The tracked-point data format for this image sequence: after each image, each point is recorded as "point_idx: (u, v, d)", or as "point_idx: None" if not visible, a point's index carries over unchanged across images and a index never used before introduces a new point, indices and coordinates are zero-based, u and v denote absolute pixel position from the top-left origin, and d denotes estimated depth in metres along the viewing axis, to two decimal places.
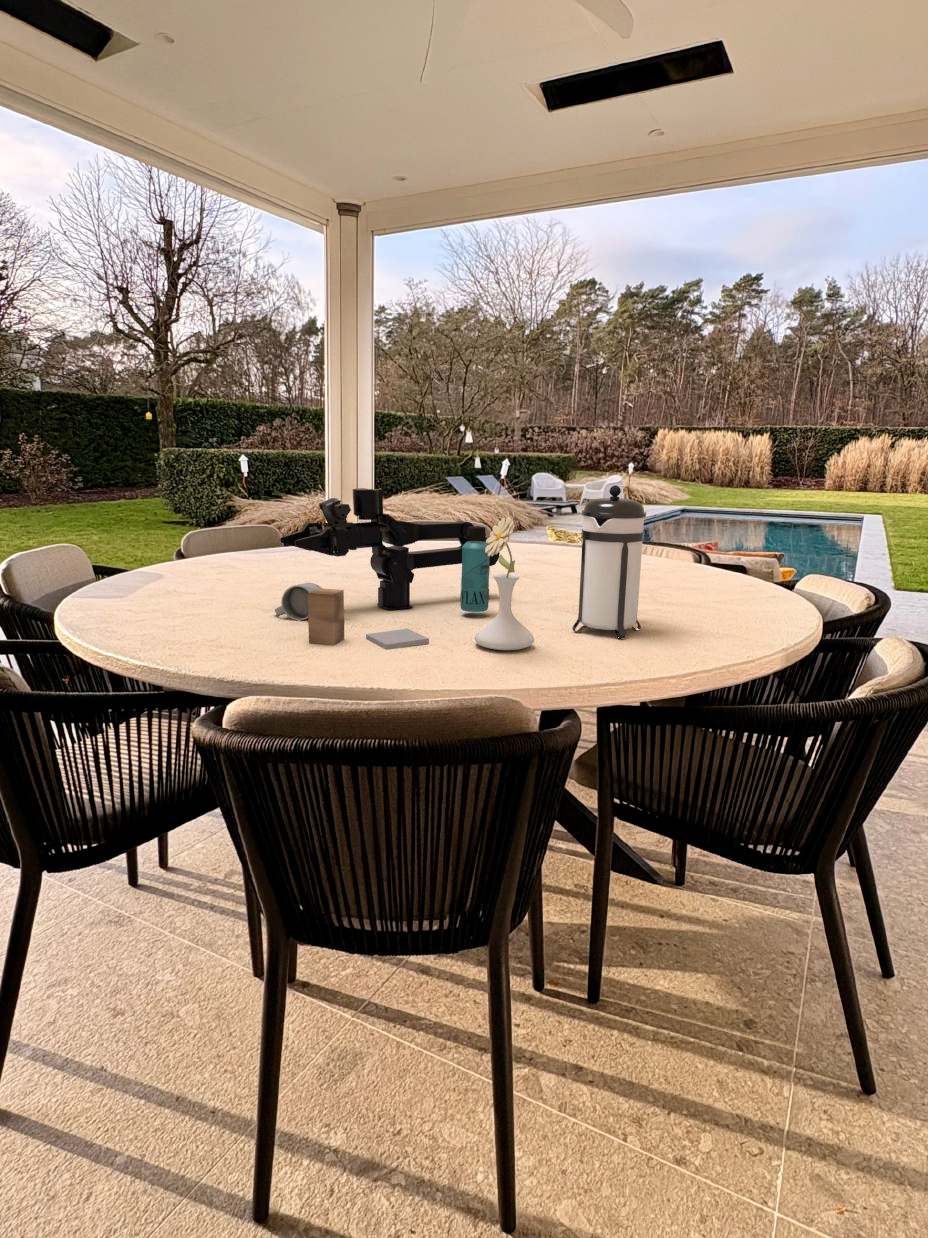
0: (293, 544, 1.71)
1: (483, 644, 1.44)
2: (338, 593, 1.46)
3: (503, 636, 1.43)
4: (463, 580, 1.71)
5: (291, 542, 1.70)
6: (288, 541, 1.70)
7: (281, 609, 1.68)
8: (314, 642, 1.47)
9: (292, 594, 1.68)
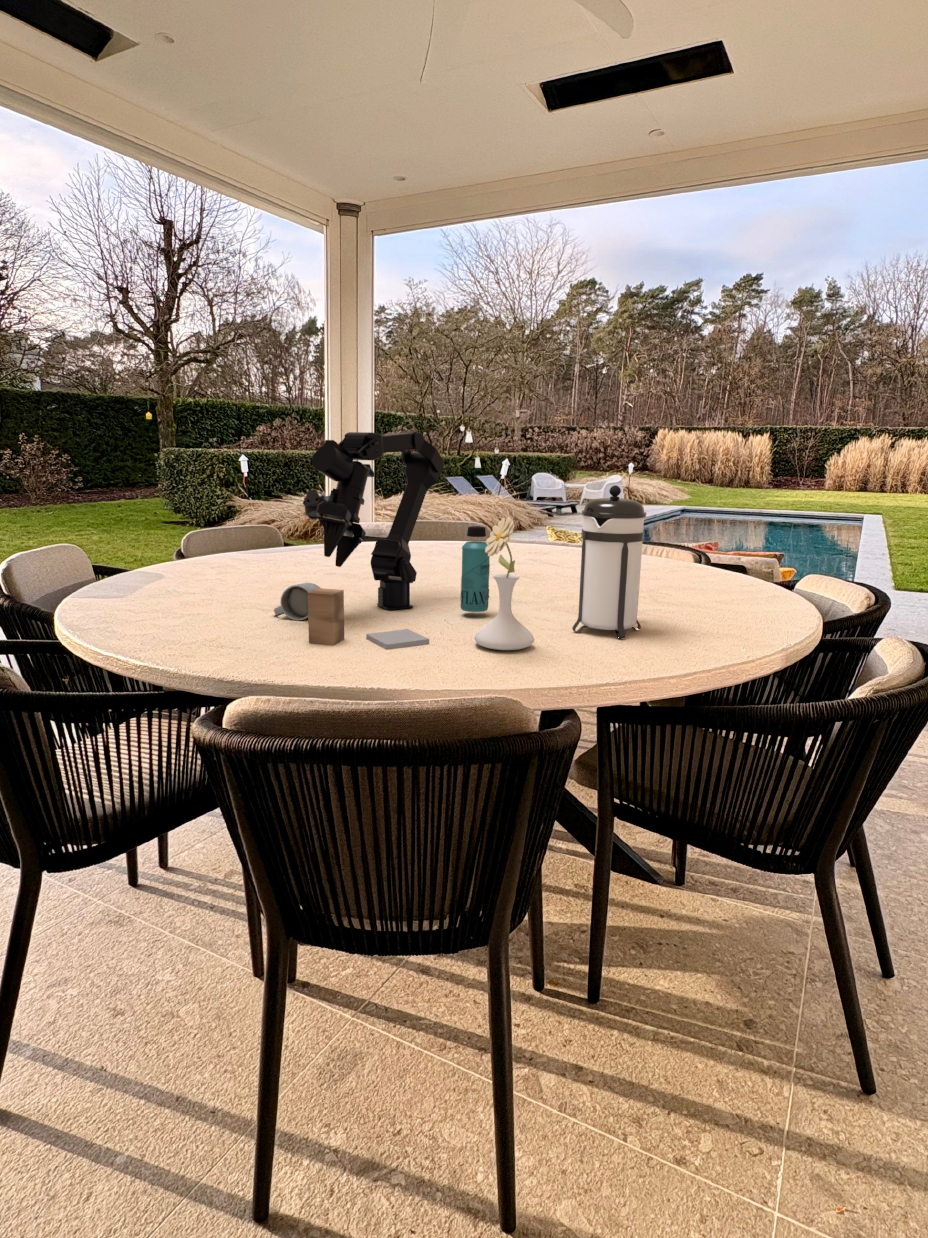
0: (346, 554, 1.65)
1: (483, 644, 1.44)
2: (338, 593, 1.46)
3: (503, 636, 1.43)
4: (463, 580, 1.71)
5: (343, 556, 1.65)
6: (341, 558, 1.65)
7: (280, 609, 1.68)
8: (314, 642, 1.47)
9: (291, 594, 1.68)
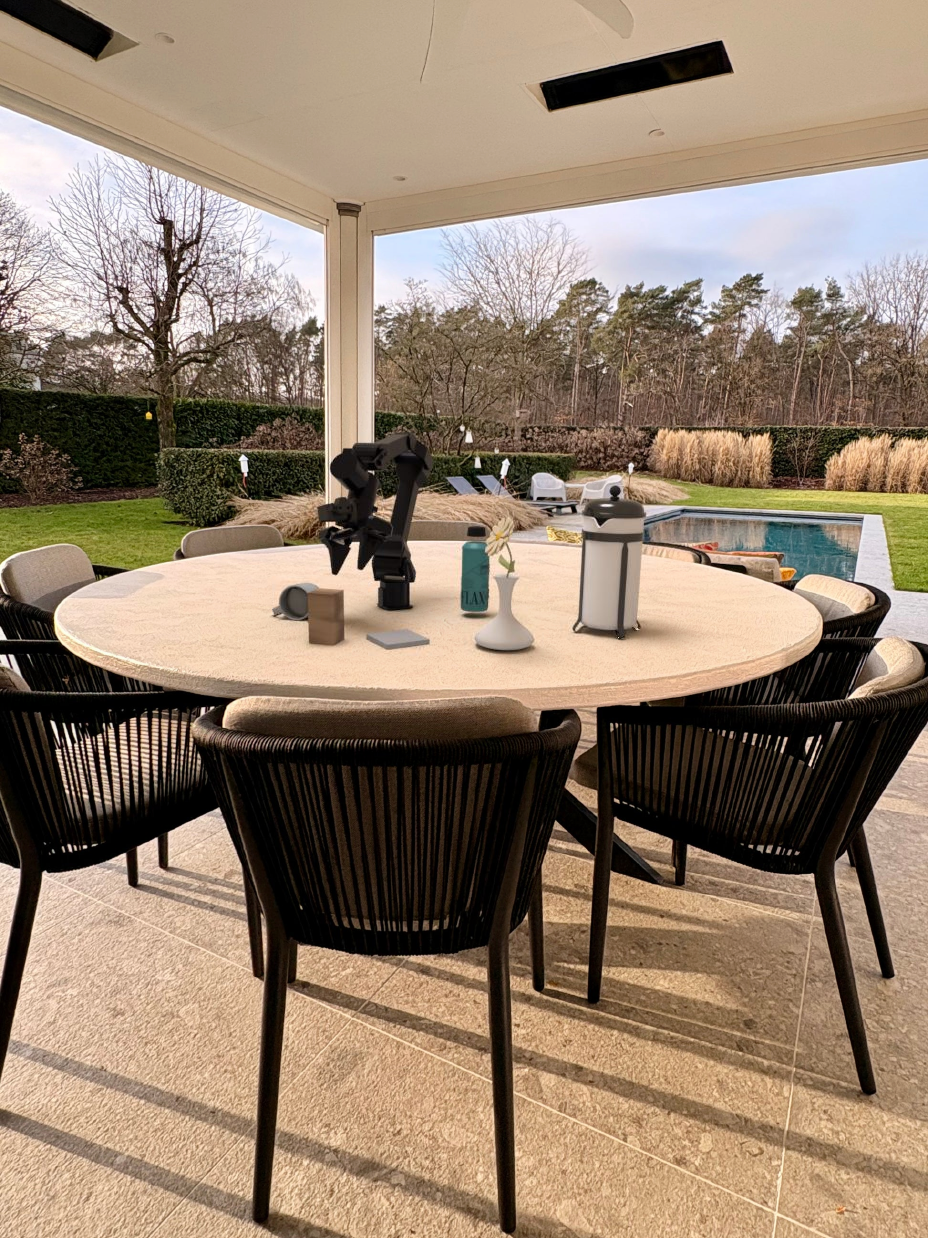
0: (341, 563, 1.61)
1: (483, 644, 1.44)
2: (338, 593, 1.46)
3: (503, 636, 1.43)
4: (463, 580, 1.71)
5: (339, 564, 1.61)
6: (337, 567, 1.60)
7: (278, 609, 1.68)
8: (314, 642, 1.47)
9: (289, 594, 1.68)
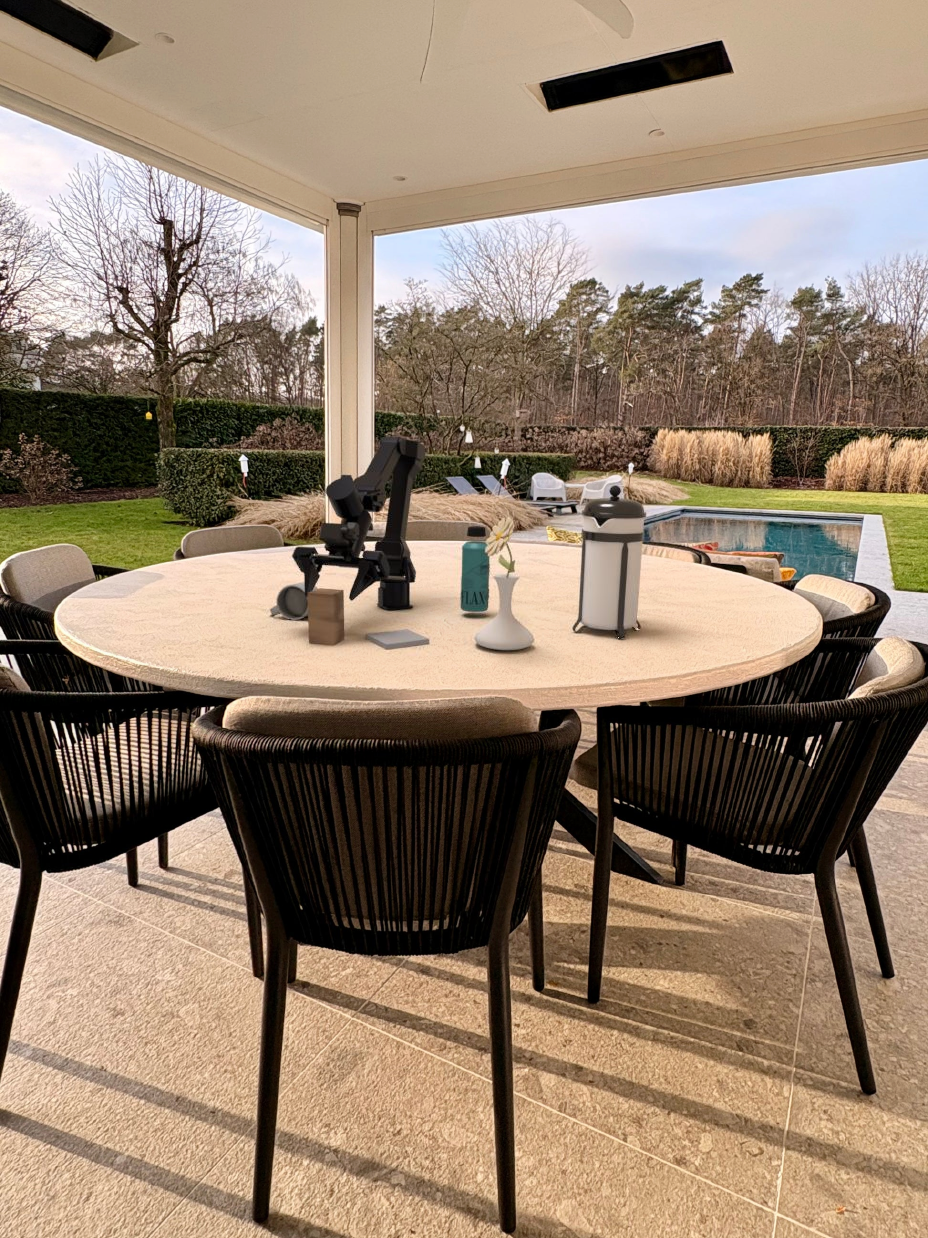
0: (313, 587, 1.51)
1: (483, 644, 1.44)
2: (338, 593, 1.46)
3: (503, 636, 1.43)
4: (463, 580, 1.71)
5: (311, 588, 1.51)
6: (310, 589, 1.50)
7: (276, 609, 1.68)
8: (314, 642, 1.47)
9: (287, 594, 1.68)
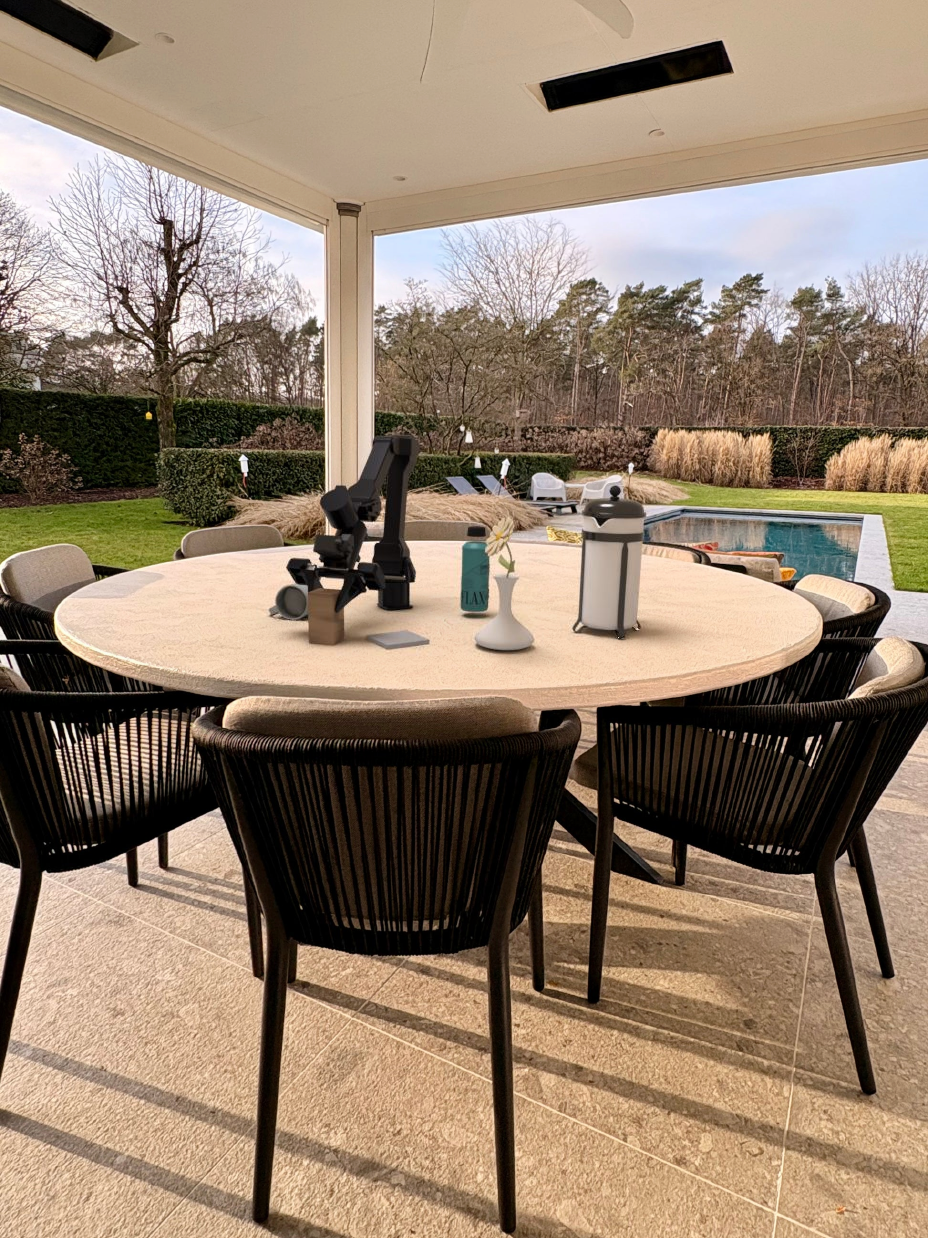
0: None
1: (483, 644, 1.44)
2: (338, 593, 1.46)
3: (503, 636, 1.43)
4: (463, 580, 1.71)
5: None
6: None
7: (275, 609, 1.68)
8: (314, 642, 1.47)
9: (286, 594, 1.68)
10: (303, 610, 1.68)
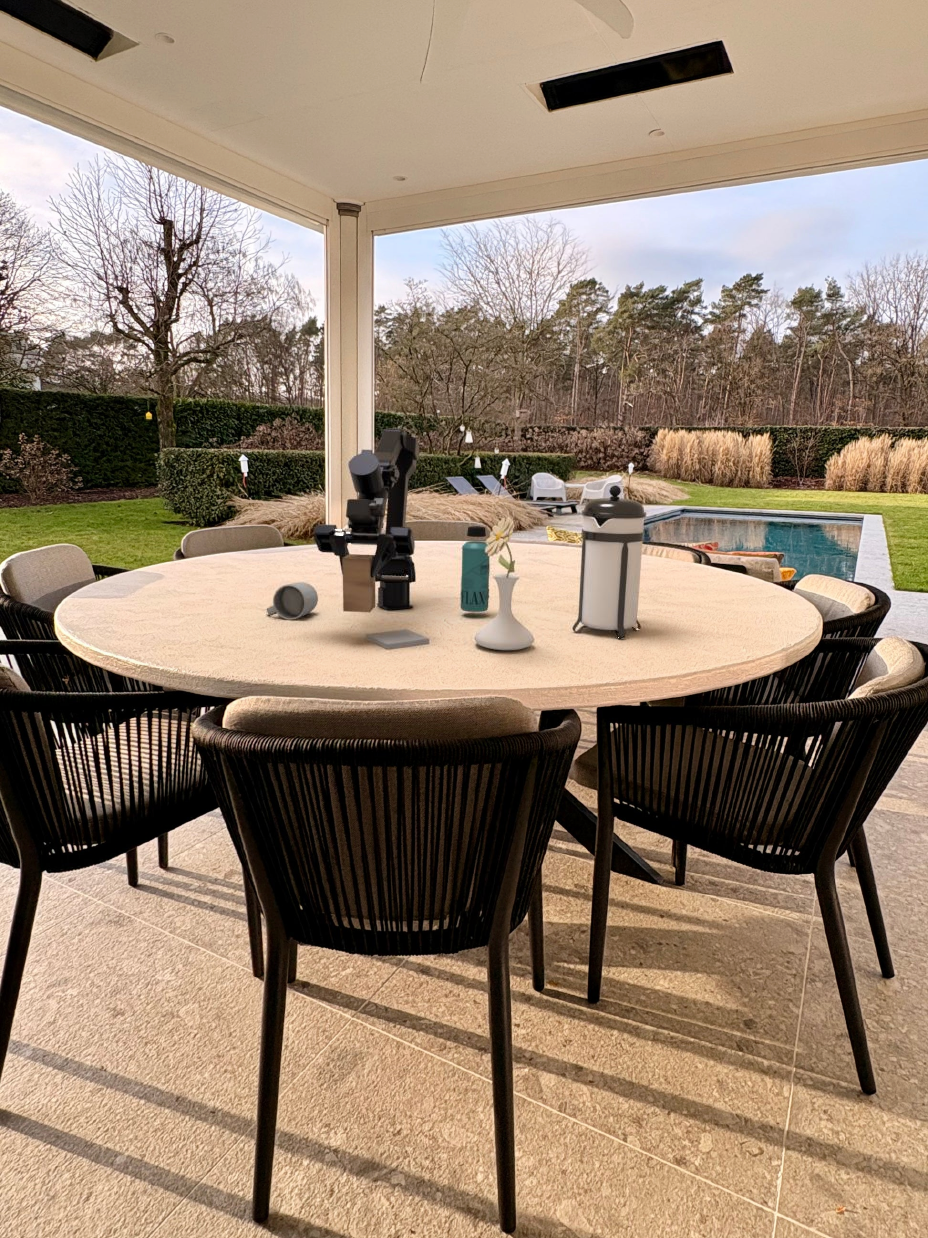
0: None
1: (483, 644, 1.44)
2: (372, 558, 1.45)
3: (503, 636, 1.43)
4: (463, 580, 1.71)
5: None
6: None
7: (273, 608, 1.69)
8: (349, 608, 1.45)
9: (284, 593, 1.68)
10: (301, 610, 1.68)
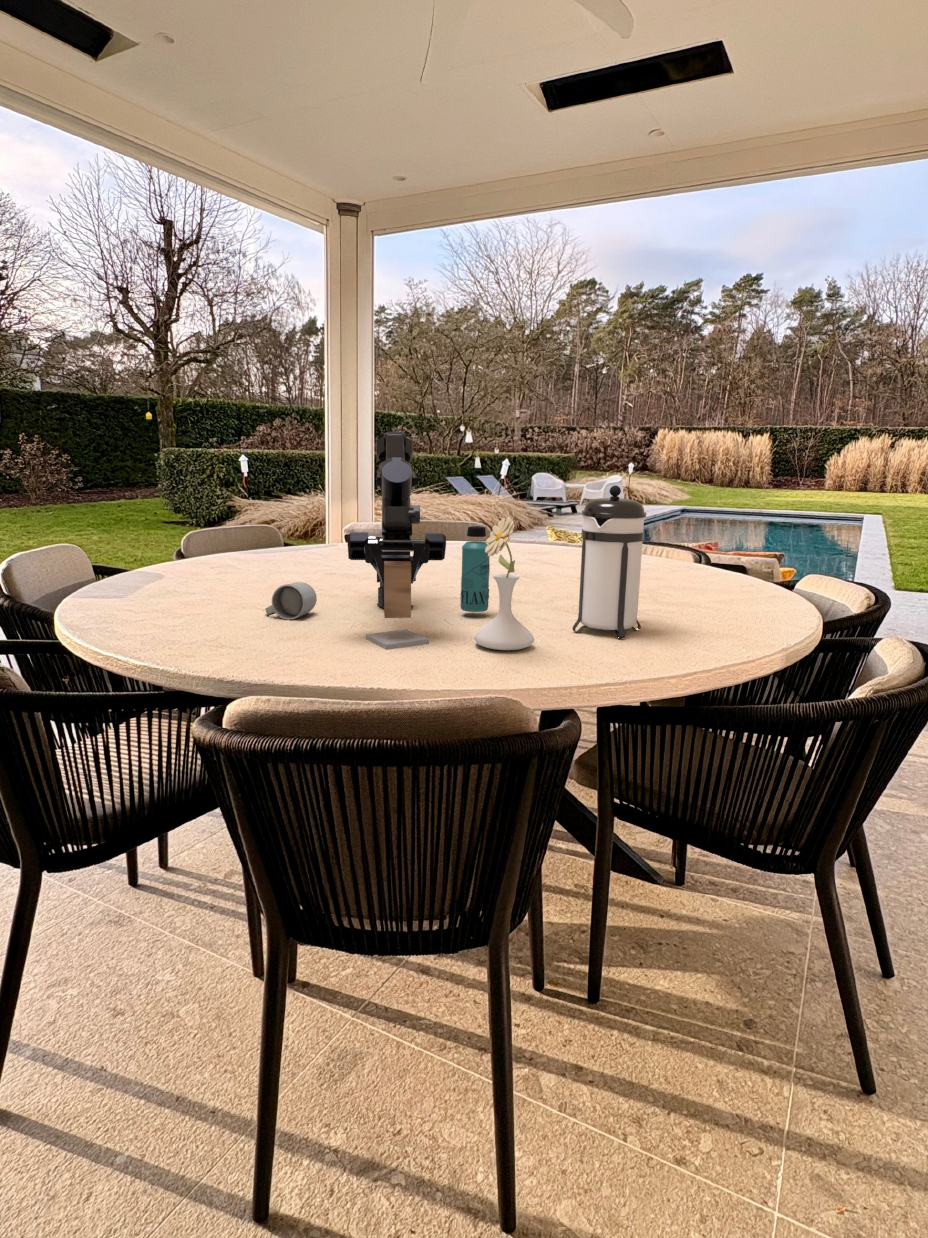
0: None
1: (483, 644, 1.44)
2: (410, 564, 1.47)
3: (503, 636, 1.43)
4: (463, 580, 1.71)
5: None
6: None
7: (271, 608, 1.69)
8: (390, 615, 1.46)
9: (282, 593, 1.68)
10: (299, 610, 1.68)
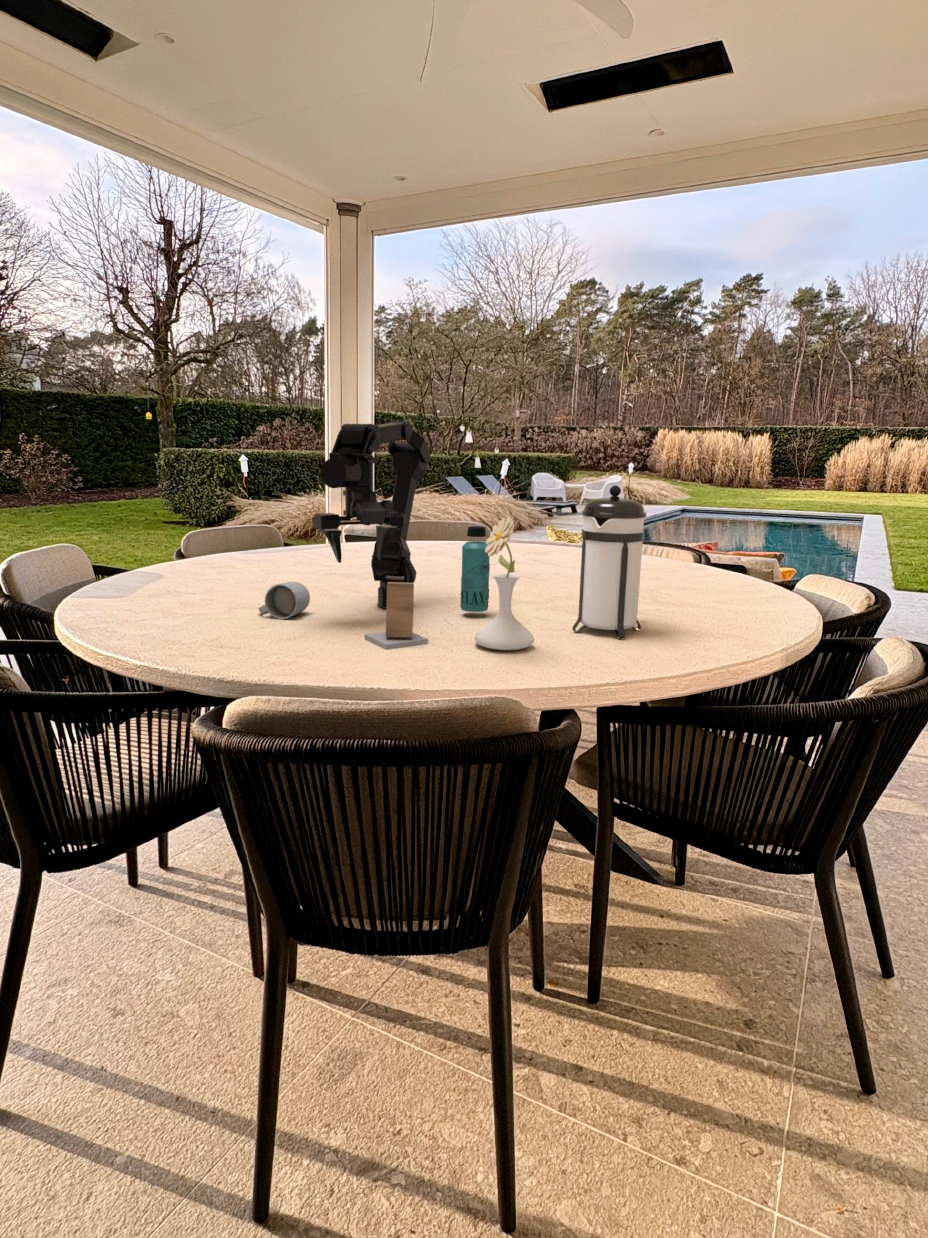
0: None
1: (483, 644, 1.44)
2: None
3: (503, 636, 1.43)
4: (463, 580, 1.71)
5: None
6: None
7: (264, 608, 1.69)
8: (392, 634, 1.47)
9: (275, 593, 1.69)
10: (292, 609, 1.68)
